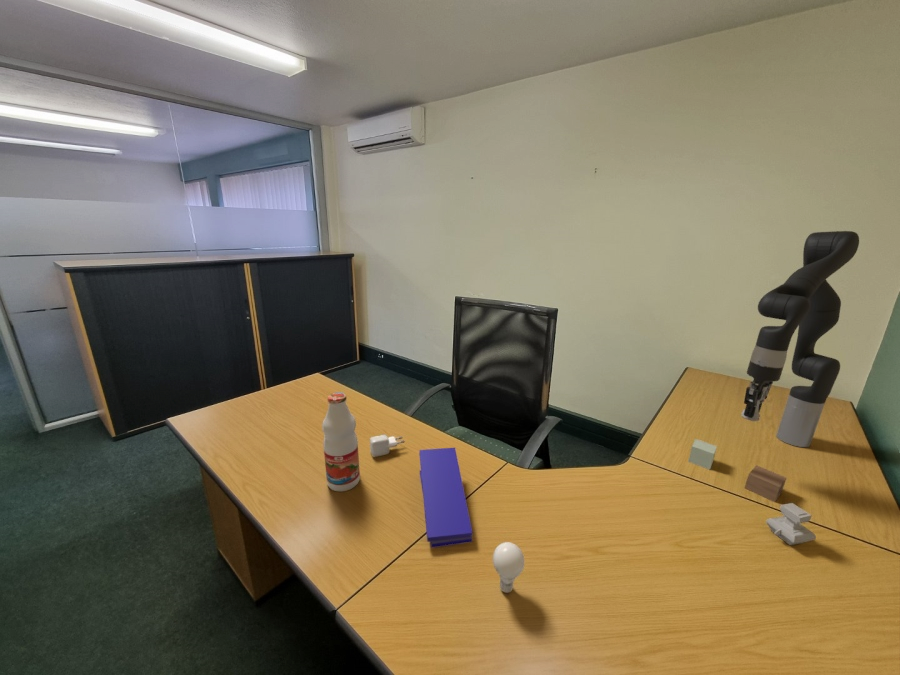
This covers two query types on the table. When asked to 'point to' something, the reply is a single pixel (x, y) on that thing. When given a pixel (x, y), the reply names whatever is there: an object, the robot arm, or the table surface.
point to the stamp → (791, 525)
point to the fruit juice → (340, 445)
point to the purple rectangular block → (444, 498)
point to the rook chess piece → (756, 414)
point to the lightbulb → (508, 564)
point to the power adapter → (382, 444)
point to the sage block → (702, 454)
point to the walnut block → (765, 483)
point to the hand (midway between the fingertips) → (751, 414)
